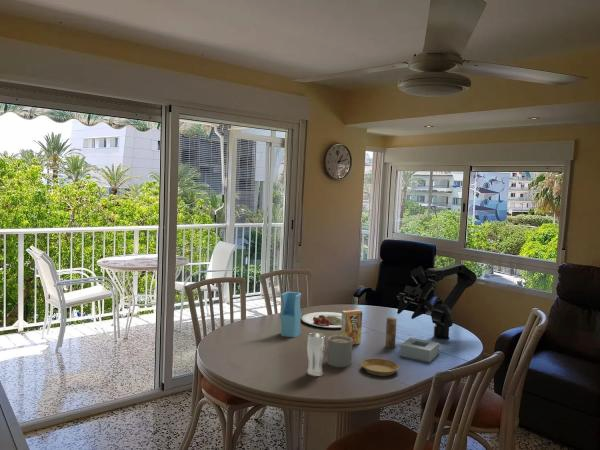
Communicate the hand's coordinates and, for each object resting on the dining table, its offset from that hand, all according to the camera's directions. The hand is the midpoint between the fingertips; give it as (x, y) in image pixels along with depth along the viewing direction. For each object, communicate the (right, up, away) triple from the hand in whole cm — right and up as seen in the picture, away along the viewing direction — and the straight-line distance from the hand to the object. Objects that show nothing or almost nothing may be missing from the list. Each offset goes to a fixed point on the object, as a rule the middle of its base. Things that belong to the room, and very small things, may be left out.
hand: (404, 315), depth 225 cm
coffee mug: (-32, -14, -26) cm, 43 cm away
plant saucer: (-17, -16, -34) cm, 41 cm away
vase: (-53, -11, +10) cm, 55 cm away
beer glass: (-43, -15, -40) cm, 60 cm away
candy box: (-25, -13, -1) cm, 28 cm away
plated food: (-33, -10, +35) cm, 49 cm away
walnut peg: (-7, -13, -3) cm, 16 cm away
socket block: (+4, -14, -14) cm, 20 cm away
